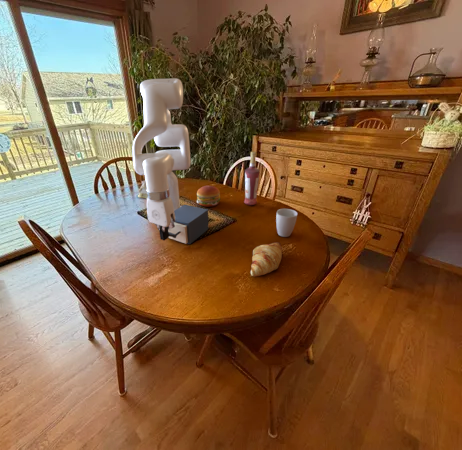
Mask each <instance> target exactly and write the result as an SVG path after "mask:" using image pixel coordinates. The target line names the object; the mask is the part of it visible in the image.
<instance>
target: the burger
mask: <svg viewBox="0 0 462 450" xmlns="http://www.w3.org/2000/svg"><path fill="white" fill-rule="evenodd" d="M220 201H221V192H220V190H219V188H218V187H217V186H214V185H204V186H202V187H200V188H198V190H197V191H196V204H198V205H199V206H201V207H205V208H209V207H210V208H211V207H215V206H217V205H219V203H220Z"/></svg>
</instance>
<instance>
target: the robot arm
mask: <svg viewBox="0 0 462 450" xmlns="http://www.w3.org/2000/svg"><path fill="white" fill-rule="evenodd" d="M139 89H140V93H141V96H142V101H143V103H142V104H143V127H142V128H141V129H140V130H139V131H138V133H137V134H136V135H135V138H134V140H133V143H132V163H133V164H132V165H133V169H134V171H135V173H136V174H137V175H140V176H144V179H145V180H146V186H147V193H148V197H147V198H146V213H147V220H148V222H150V223H151V224H154V225H155V226H156V228H157V230H158V231H159V232H158V233H159V239H160V240H162V241H166V240H167V239H169V238H168V237H169V233H168V229H169V228H174V227H175V225H174V222H175V213H174V211H175V210H176V209H178V208H180V207H181V206H182V205H181V203H180V202H181V201H180V190H179V181H178V176H177V175H176V174H175V172H173V171H183V170H188V169H190V168H191V163H192V162H191V161H192V159H191V147H190V146H191V145H190V136H189V135H190V134H189V130H188V127H187V125H185V124H183V123H182V124H181V123H177V124H175V123H172V117H171V115H172V114H171V111H170V110H178V109H182V107H183V102H184V86H183V83H182V81H181V79H179V78H176V77H175V78H174V77H172V78H151V79H145V80H143V81H141V82H140V85H139ZM152 140H154V143H155V145H156V147H161V148H171V147H173V148H175V147H179V149H161V150H157V151H156V152H149V153H146V152H145V153H142V152H143V148H144V146H145V145H146V144H147V143H149V142H150V141H152ZM145 180H144V181H145Z"/></svg>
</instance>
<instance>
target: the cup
mask: <svg viewBox="0 0 462 450" xmlns="http://www.w3.org/2000/svg"><path fill="white" fill-rule="evenodd" d="M275 216H276V217H275V218H276V219H275V222H276V232H277V234H278V236H280V237H283V238H288V237H290V236H291V234H292V233H293V231H294V229H295V225H296V223H297V220H298V219H297V218H298V212H297V211H296V210H294V209H291V208H280V209H277V211H276V215H275Z"/></svg>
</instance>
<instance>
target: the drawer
mask: <svg viewBox="0 0 462 450" xmlns="http://www.w3.org/2000/svg"><path fill="white" fill-rule="evenodd" d="M174 225H175V227H174V228H169V229H168V233H169V237H168V238H167V239H171V240H173V241H177V242H179V243H182V244H188V231H187V225H186V226H185V225H182V224H178V223H177V222H174Z"/></svg>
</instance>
